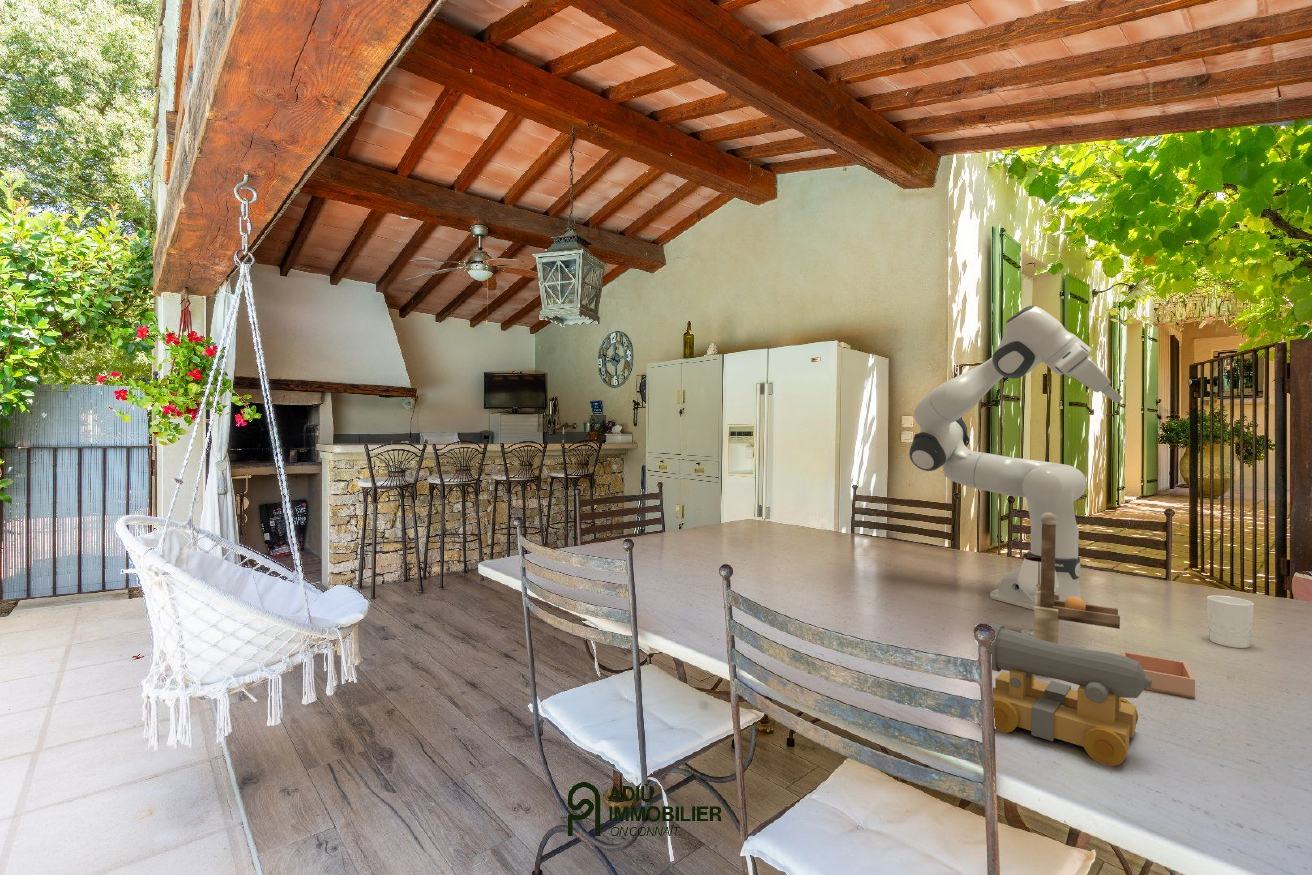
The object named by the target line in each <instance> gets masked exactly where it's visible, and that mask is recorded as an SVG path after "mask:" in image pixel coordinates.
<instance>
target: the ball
mask: <svg viewBox="0 0 1312 875" xmlns="http://www.w3.org/2000/svg"><path fill="white" fill-rule="evenodd" d="M1085 604H1086V602H1085V601H1084V600H1083V599H1082V597H1081V598H1079V597H1076V596H1071V597H1069V598H1067V599H1066V600H1065V608H1071V609H1078V610H1084V611H1085V609H1086V605H1085Z"/></svg>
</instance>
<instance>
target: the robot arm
mask: <svg viewBox="0 0 1312 875" xmlns="http://www.w3.org/2000/svg"><path fill="white" fill-rule="evenodd" d="M1092 350H1093V349H1092V348H1091V347H1090V346H1089V345H1087V343H1085V342H1084V340H1082V339H1081V338H1079V337H1078V336H1077V335H1075V334H1074V333H1072V332H1070V331H1068V330H1067V329H1066V327H1064V325H1063V324H1062V322H1060V321H1059V320H1058V319H1057V318H1056V317H1055V316H1053V315H1052V314H1051V313H1049V312H1047V311H1046V310H1044V309H1043V308H1041V307H1039V306H1036V305H1029V306H1026V307H1024V308H1022V309H1020V310H1019V311H1018V312H1016V313H1014V315H1012V316H1011V317H1010V318H1007V320H1006V322H1005V323H1004V333H1003V337H1002V339H1001V341H1000V343H999V344H998V347H997V348H996V350H995V352H994V353H993V354H992V356H991V357H990V358H989V359H987V360H985V361H984V362H982V363H981V364H980V365H977V366H976V367H973V368H972V369H969V370H968V371H965V372H963V373H961V374H959V375H957V376H955V377H953V378H950V379H949V380H946V381H945V382H943V383H941V384H940V385H938V386H936V387H935V388H933V389H932V390H931V391H930V392H929V393H927V394H926V395H925V396H924V397H923V398H922V399H921V400H920V401H919V403H917V404H916V405H915V408H914V410H913V418H914V419H915V422H916V423H917V425H918V426H919V427H920V430H919V433H916V434H914V436H913V440H912V443H911V446H910V448H909V454H908V455H909V459H910V461H911V462H912V464H913V465H914V466H915V467H917V469H920V470H922V471H925V472H932V471H936V470H939V468H941V467H942V471H943V472H942V473H943V474H944V476H945V477H946V478H947V479H948V480H950V481H951V482H954V483H956V484H960V485H963V486H965V487H969V488H972V489H976V490H982V491H986V492H991V493H995V494H999V495H1005V496H1011V497H1012V496H1014V497H1020V498H1021V497H1022V498H1025V499H1026V505H1027V510H1028V515H1029V521H1030V550H1028V551H1026V553H1023V554H1022V555H1021V556H1020V559H1021V560H1022V561H1023V560H1024V558H1025V557H1039V558H1041V545H1042V522H1041V516H1042V515H1043V514H1044V513H1047V512H1050V513H1053V514H1055V515H1056V516H1057V519H1058V521H1057V524H1056V542H1055V571H1056V574H1057V578H1058V590H1057V591H1056V593H1058V594H1059V600H1060V601H1065V600H1066V599H1067V598H1069V597H1071V596H1076V597H1079V598H1081V599H1082V595H1081V589H1080V580H1079V579H1080V576H1081V558H1080V556H1079V539H1080V538H1079V537H1080V536H1079V535H1080V533H1079V531H1080V530H1079V525H1078V524H1077V519H1076V514H1075V510H1074V502H1076V501H1078V499H1080V498H1082V496H1083V495H1084V493H1085V492H1086V490H1087V486H1088V485H1087V484H1088V482H1087V478H1086V476H1085V474H1084V473H1083V472H1082V471H1081V470H1080V469H1078V468H1077V467H1074V466H1073V465H1070V464H1063V463H1057V462H1049V461H1044V460H1036V459H1028V458H1019V457H1012V456H1005V455H1001V454H1000V455H999V454H994V453H989V452H988V453H987V452H981V451H975V450H972V449H969V448H968V445H969V444H970V440H971V439H970V436H969V434H968V427H967V424H966V422H965V421H964V419H963V418H964V416H965V415H966V414H968V413H969V412H970V411H971V410H973V408H975V406H976V405H977V404H978V403H979V402H980V401H981V400H982V399H983V398H984V397H985V395H986V394H987V393H988V392H989V391H990V390H991V389H992V388H993V387H994V385H996V384H997V383H998V382H999V381H1000V380H1001V379H1003V378H1008V379H1012V380H1014V379H1020V378H1022V377H1024V376H1026V375H1027V374H1029V373H1030V372H1032V371H1033V370H1034V369H1035V368H1036V367H1037V366H1038V365H1039V364H1041V363H1044V365H1046V366H1047V367H1048V368H1049V369H1050V370H1051V371H1053V373H1055V374H1056V375H1057V376H1059V377H1060V376H1062V375H1066V376H1067V377H1069V378H1071V377H1072V378H1074V379H1075V380H1077V381H1078V382H1079V383H1081V384H1082V385H1084V386H1086V387H1087V388H1089V389H1090V390H1092V391H1093V392H1094V393H1100V392H1101V393H1102V394H1103V395H1104V396H1106V397H1107V398H1109V399H1110V400H1111V401H1112V402H1114V404H1118V403H1119V402H1121V401H1122V400H1123V399H1124V397H1123V396H1122V395H1121V394H1120V393H1118V391H1116V390H1115V389H1114V388H1113V387H1112V386H1111V385H1110V384H1111V379H1110V378H1109V377H1108V376H1107V375H1106V373H1105V372H1104V371H1103V369H1101V368H1100V367H1099V366H1098V365H1097V364H1096V363H1095V362H1094V361H1093V359H1094V358H1093V356H1092V355H1090V352H1091V351H1092ZM962 417H963V418H962ZM1021 566H1022V564H1021V565H1019V566H1017V567H1016V568H1014V569H1011V570H1010V571H1008V572H1006V573H1005V574H1004V575H1002V577H1001V578H1000V581H999V584H998V588H997V589H994V590H991V592H990V593H989V598H990V599H992V600H996V601H1000V602H1003V603H1007V604H1010V605H1014V606H1018V607H1021V608H1026V609H1029V610H1032V611H1034V607H1035V604H1034V602H1033V601H1032V600H1031V599H1030V598H1029V597H1028V596H1027V595H1026V594H1025V593H1024V592H1023V591H1022V590H1021V589H1020V587H1019V585H1018V576H1019V572H1020V569H1021Z"/></svg>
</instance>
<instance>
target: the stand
mask: <svg viewBox="0 0 1312 875" xmlns="http://www.w3.org/2000/svg"><path fill="white" fill-rule="evenodd" d="M1040 592H1041V591H1038V592H1037V606H1035V607H1034V610H1033V613H1034V614H1033V630H1034V638H1036V639H1040V640H1044V641H1048V642H1052V643H1056V644H1059V624H1060V622H1059V621H1060V620H1059V619H1058V609H1052V608H1046V607H1040ZM1054 600H1059V594H1058V593H1054Z"/></svg>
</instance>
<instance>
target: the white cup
mask: <svg viewBox="0 0 1312 875" xmlns="http://www.w3.org/2000/svg"><path fill="white" fill-rule="evenodd" d="M1206 603H1207V604H1206V605H1207V606H1206V609H1207V612H1206V613H1207V628H1208V638H1209V641H1210V642H1213V644H1217V645H1220V646H1224V647H1229V648H1234V649H1235V648H1236V649H1248V648H1250V644H1251V635H1252V629H1253V628H1252V627H1253V619H1254V608H1255V603H1254V602H1252V601H1251V600H1247V599H1244V598H1239V597H1233V596H1229V595H1228V596H1227V595H1208V596H1207V597H1206Z"/></svg>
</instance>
